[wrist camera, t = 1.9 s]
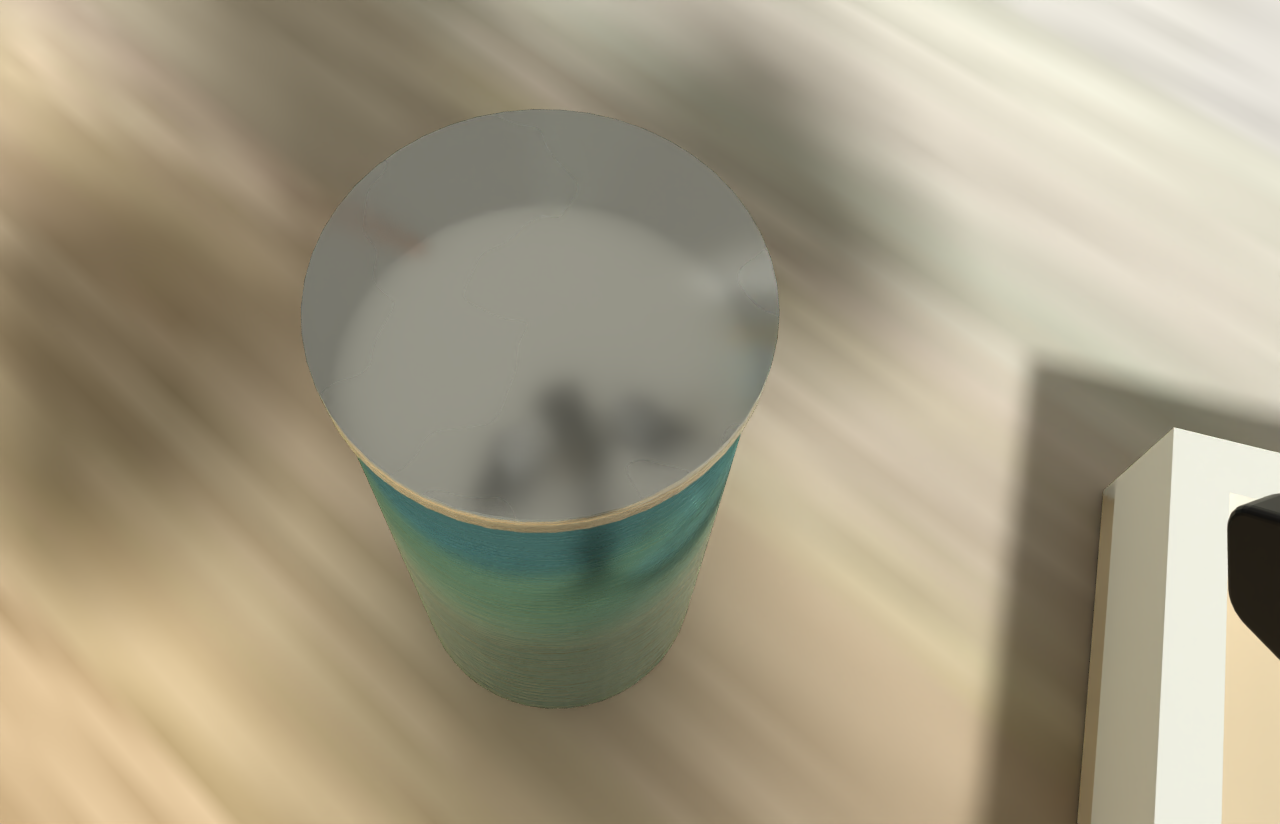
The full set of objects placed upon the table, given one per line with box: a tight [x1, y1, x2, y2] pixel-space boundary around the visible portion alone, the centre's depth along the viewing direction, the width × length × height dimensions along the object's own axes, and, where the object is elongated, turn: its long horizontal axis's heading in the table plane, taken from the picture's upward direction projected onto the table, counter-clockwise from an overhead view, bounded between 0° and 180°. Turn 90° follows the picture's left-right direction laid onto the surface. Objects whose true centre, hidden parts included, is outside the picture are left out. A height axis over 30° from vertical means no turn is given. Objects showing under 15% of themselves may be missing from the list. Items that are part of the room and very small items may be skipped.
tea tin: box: [301, 109, 779, 708], centre depth 17 cm, size 5×5×10 cm
